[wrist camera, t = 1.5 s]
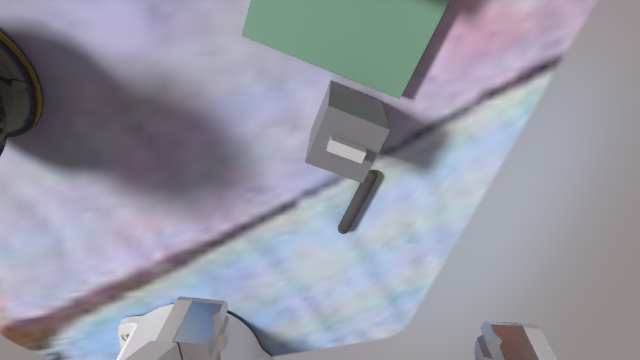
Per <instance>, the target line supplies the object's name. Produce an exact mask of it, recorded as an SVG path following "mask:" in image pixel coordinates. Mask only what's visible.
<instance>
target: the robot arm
mask: <svg viewBox="0 0 640 360" xmlns="http://www.w3.org/2000/svg"><path fill="white" fill-rule="evenodd" d="M227 310H228V305H227V301H220V300H210V299H201V298H190V297H179V298H178V299H177V300H176V301H175V303H174V304H170V305H166V306H162V307H160V308H157V309H155V310H153V311H151V312H150V313H148V314H145V315H142V316H132V317H127V318H124V319H122V321H121V323H120V325H119V327H118V334H119V340H120V346H121V352H120V354H119V356H118V358H117V360H274V359H273V358H272V357H271V356H270V355H269V354H267V353H266V352H265V351H264V350H262V348H261V347H260V345H259V343H258V341H257V339H256V337H255V335H254V334H253V332H252V331H251V330H250V329H249V328H248V327H247V326H246V325H245V324H244V323H243V322H241V321H240V320H239V319H237V318H236V317H234V316H232V315H230V314H228V313H227ZM481 330H482V333H483V334H482V335H481V336H479V337H478V338H477V340H476V343H475V360H557V359H556V357H555V355H554V353H553V352H552V350H551V348H550V346H549V344H548V342H547V340H546V339H545V337H544V335H543V333H542V331H541V329H540V328H539V327H538V326H537V325H534V324H521V323H519V324H518V323H511V322H495V321H485V322H484V323H483V325H482V327H481Z"/></svg>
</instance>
